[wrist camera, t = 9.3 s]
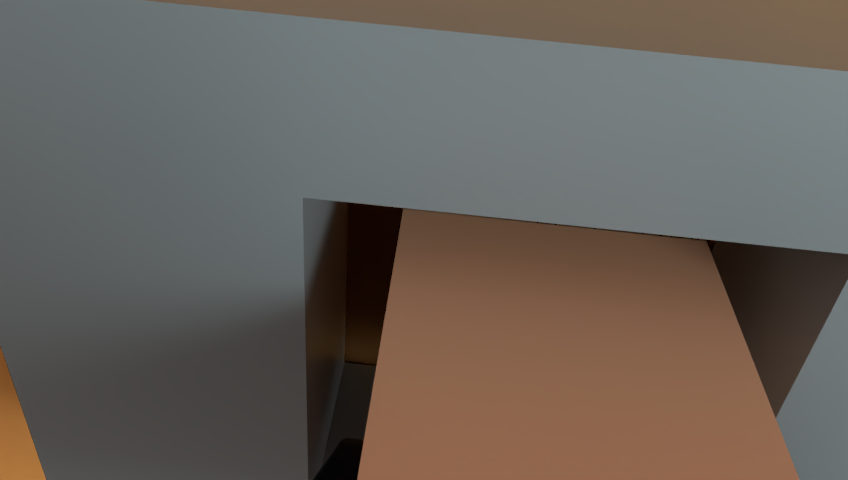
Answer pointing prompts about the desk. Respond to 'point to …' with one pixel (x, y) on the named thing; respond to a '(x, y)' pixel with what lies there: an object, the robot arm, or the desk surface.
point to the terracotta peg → (562, 360)
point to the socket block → (385, 198)
